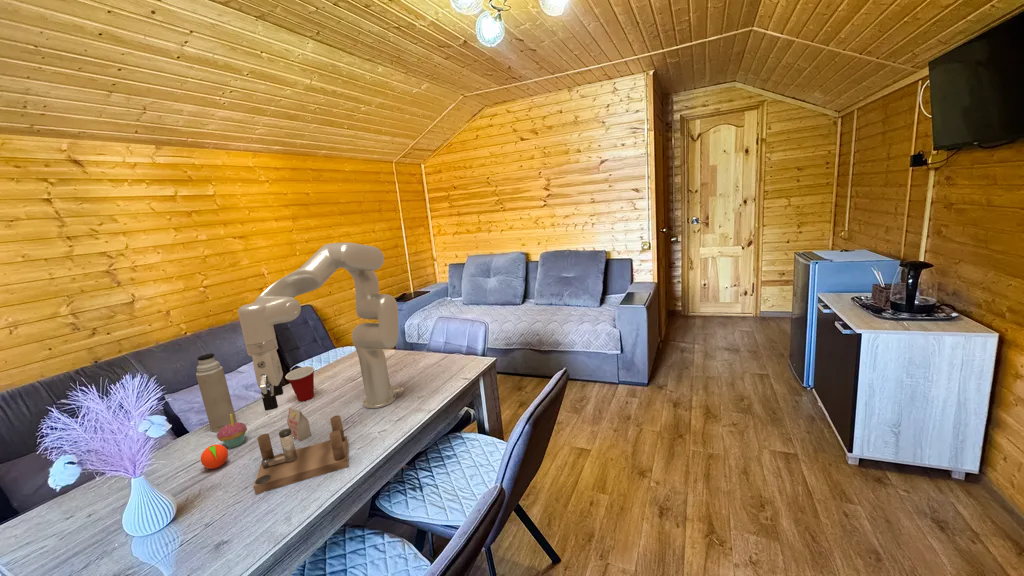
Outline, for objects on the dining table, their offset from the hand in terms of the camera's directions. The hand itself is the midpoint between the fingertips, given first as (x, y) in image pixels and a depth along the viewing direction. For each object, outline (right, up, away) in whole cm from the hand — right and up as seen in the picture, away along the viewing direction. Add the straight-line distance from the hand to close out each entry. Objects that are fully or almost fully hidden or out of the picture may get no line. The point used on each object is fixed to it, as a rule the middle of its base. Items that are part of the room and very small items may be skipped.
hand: (274, 401), depth 121 cm
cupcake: (-25, -20, +20) cm, 38 cm away
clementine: (-22, -22, +8) cm, 32 cm away
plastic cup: (-16, -13, +50) cm, 54 cm away
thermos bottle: (-38, -18, +33) cm, 54 cm away
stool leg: (+1, -18, +2) cm, 18 cm away
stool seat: (+7, -20, +3) cm, 22 cm away
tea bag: (-3, -18, +21) cm, 28 cm away
